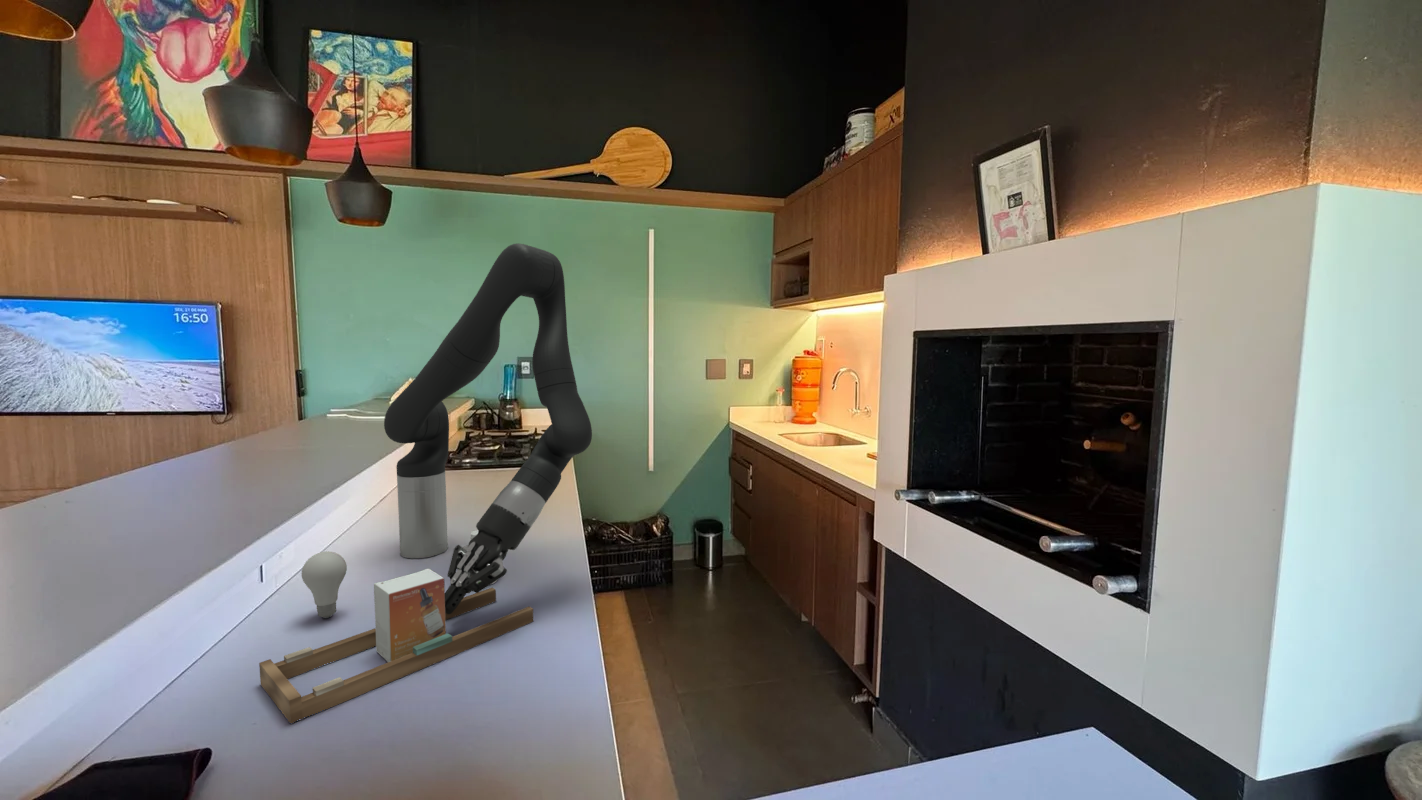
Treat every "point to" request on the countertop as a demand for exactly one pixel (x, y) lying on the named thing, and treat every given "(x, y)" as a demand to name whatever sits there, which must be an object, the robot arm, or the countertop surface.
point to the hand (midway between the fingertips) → (443, 610)
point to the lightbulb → (324, 580)
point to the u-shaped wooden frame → (343, 690)
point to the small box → (408, 612)
